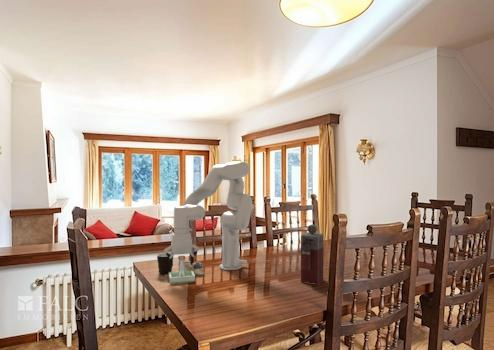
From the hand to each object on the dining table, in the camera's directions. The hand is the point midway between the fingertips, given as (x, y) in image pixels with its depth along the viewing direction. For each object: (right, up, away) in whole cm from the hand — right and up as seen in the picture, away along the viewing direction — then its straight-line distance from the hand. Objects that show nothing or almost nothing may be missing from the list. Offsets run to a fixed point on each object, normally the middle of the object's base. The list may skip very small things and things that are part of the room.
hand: (181, 265), depth 167 cm
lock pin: (0, -6, 0) cm, 6 cm away
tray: (0, -7, 0) cm, 7 cm away
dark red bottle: (+64, -8, -2) cm, 65 cm away
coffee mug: (-11, -7, +12) cm, 18 cm away
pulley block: (+3, -7, +11) cm, 14 cm away
